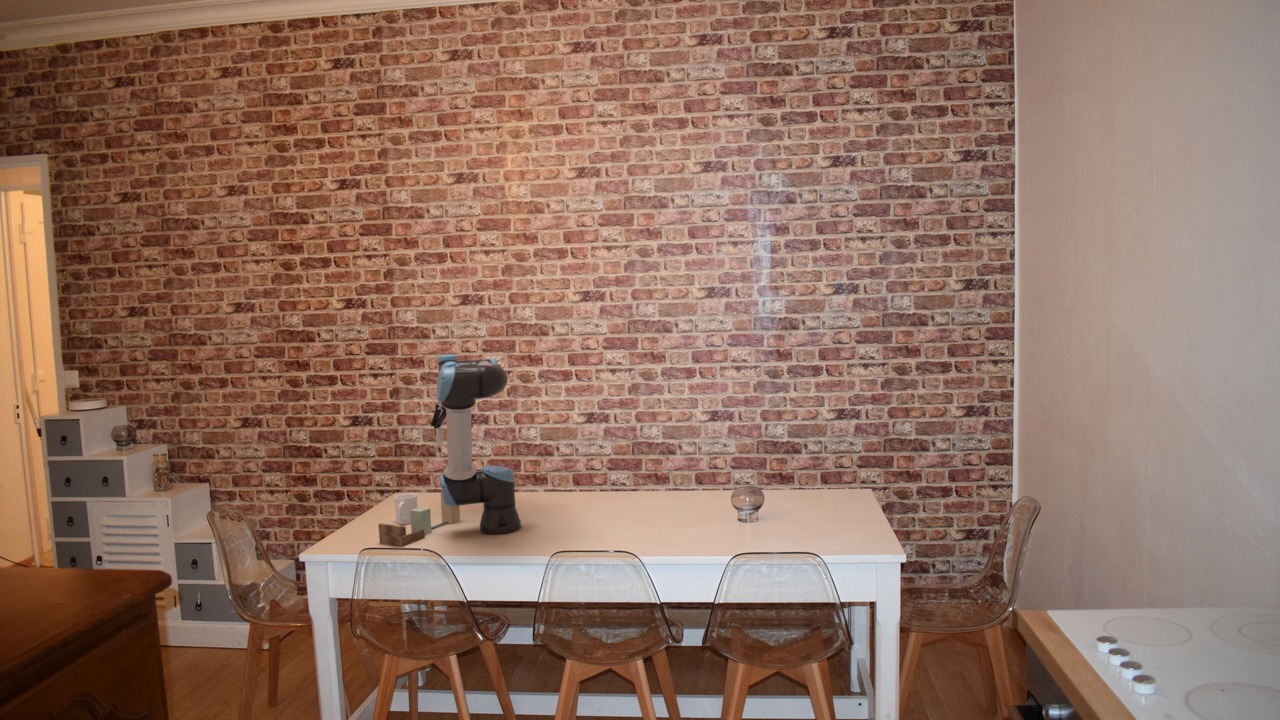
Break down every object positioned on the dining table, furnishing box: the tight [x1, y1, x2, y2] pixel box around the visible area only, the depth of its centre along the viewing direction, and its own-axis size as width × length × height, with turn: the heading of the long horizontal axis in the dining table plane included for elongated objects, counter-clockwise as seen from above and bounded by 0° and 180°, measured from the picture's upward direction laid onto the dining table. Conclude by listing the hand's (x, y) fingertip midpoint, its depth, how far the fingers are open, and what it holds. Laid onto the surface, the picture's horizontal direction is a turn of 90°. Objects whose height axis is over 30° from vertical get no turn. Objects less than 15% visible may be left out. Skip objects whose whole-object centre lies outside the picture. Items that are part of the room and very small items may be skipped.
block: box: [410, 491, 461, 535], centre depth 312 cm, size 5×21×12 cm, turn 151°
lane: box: [378, 522, 426, 548], centre depth 297 cm, size 10×12×7 cm
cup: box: [394, 492, 419, 525], centre depth 320 cm, size 8×12×10 cm
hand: (452, 444), depth 335 cm, fingers open, 13 cm apart
